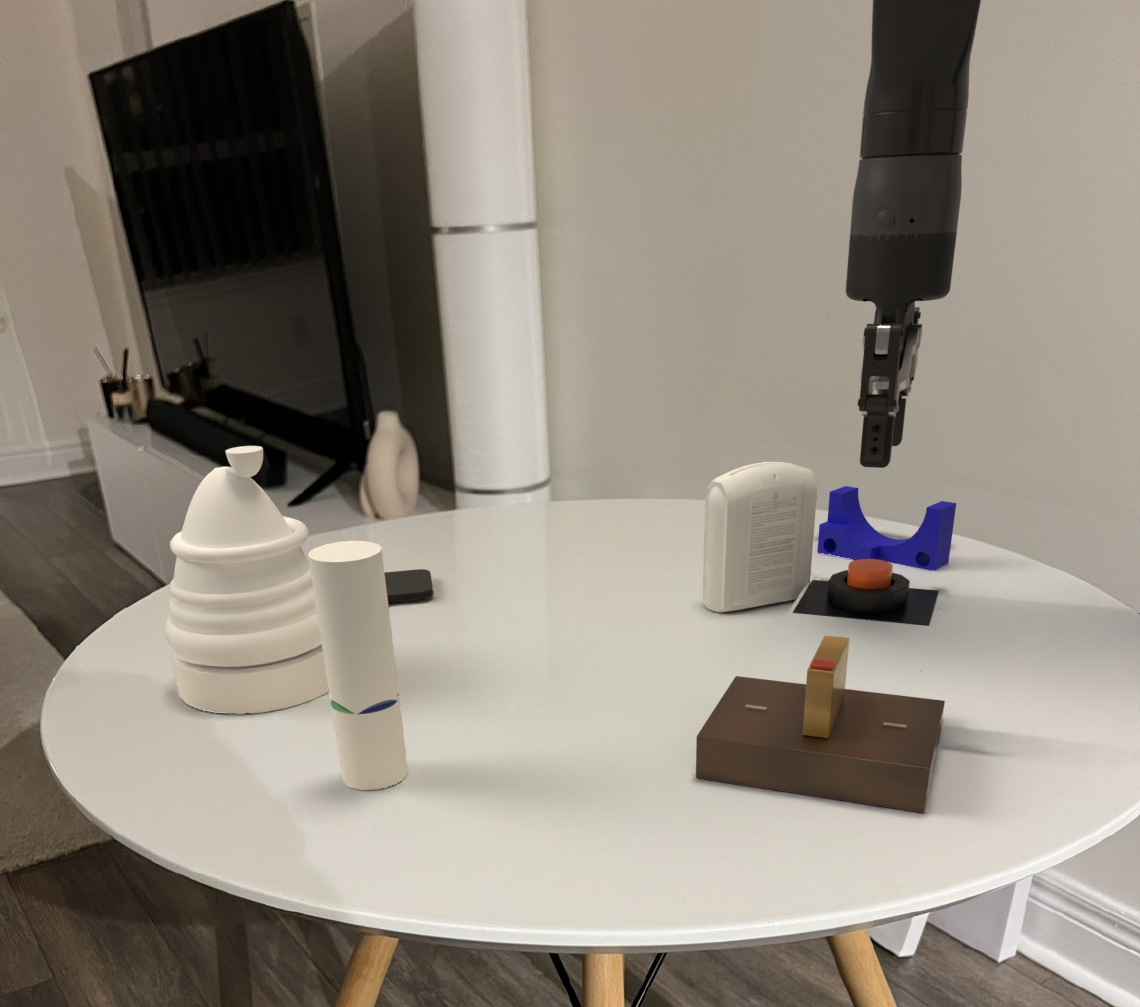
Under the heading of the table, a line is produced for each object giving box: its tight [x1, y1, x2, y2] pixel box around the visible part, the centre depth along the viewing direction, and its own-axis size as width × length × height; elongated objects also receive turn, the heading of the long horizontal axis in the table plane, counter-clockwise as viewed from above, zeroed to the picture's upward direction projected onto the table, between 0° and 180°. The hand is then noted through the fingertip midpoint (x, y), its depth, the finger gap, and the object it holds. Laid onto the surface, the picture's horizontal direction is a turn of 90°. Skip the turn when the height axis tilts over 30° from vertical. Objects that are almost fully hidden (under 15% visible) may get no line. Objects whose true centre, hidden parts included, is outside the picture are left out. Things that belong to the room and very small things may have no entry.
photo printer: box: [702, 461, 818, 613], centre depth 95 cm, size 10×4×12 cm, turn 115°
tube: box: [307, 540, 409, 791], centre depth 67 cm, size 4×4×15 cm
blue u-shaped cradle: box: [816, 485, 957, 572], centre depth 106 cm, size 12×4×6 cm, turn 46°
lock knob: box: [803, 634, 850, 738], centre depth 67 cm, size 6×2×5 cm, turn 158°
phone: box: [384, 568, 434, 603], centre depth 103 cm, size 7×1×15 cm
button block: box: [792, 569, 940, 627], centre depth 91 cm, size 11×9×4 cm
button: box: [847, 559, 894, 589], centre depth 90 cm, size 4×4×2 cm
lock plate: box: [695, 675, 946, 814], centre depth 69 cm, size 14×10×3 cm
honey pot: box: [164, 445, 329, 715], centre depth 81 cm, size 13×13×18 cm
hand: (881, 455), depth 86 cm, fingers open, 8 cm apart
